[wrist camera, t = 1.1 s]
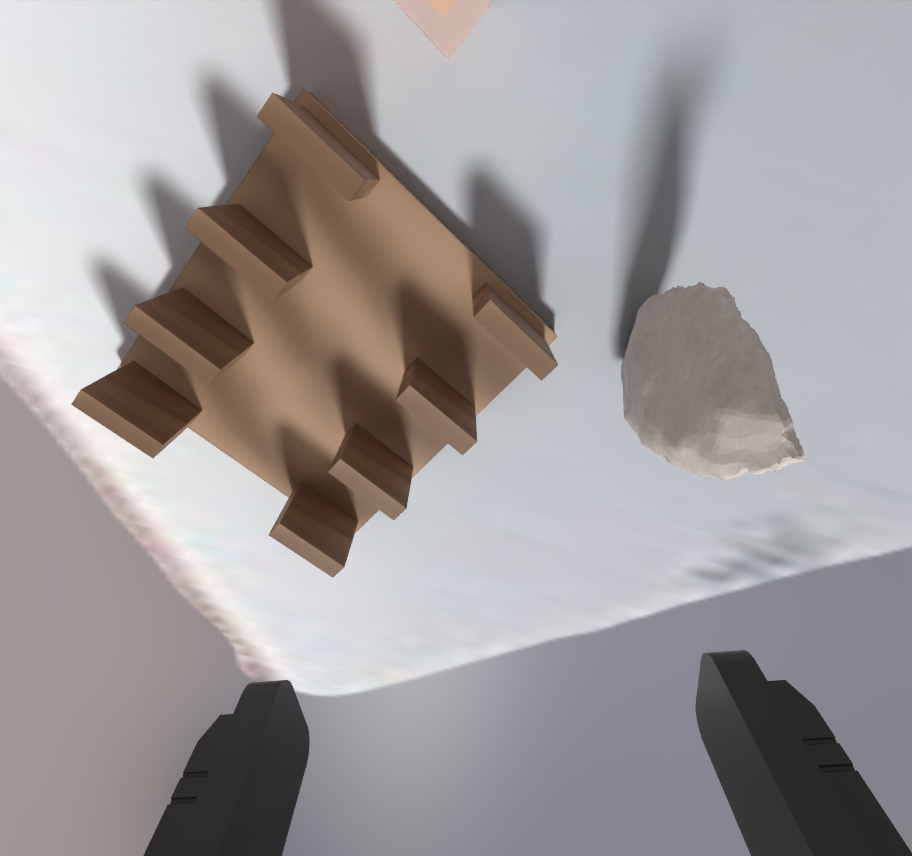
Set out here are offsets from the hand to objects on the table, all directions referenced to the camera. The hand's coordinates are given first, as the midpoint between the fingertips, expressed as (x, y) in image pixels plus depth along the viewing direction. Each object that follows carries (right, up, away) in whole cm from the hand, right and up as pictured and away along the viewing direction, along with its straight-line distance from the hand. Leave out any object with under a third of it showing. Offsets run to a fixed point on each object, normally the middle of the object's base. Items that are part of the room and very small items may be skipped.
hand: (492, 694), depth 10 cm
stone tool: (+11, +11, +23) cm, 28 cm away
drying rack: (-9, +10, +23) cm, 27 cm away
